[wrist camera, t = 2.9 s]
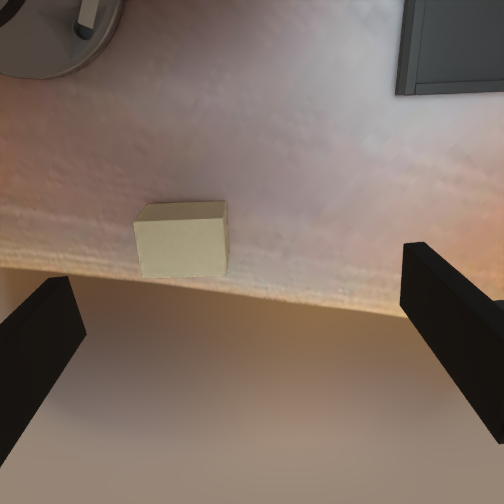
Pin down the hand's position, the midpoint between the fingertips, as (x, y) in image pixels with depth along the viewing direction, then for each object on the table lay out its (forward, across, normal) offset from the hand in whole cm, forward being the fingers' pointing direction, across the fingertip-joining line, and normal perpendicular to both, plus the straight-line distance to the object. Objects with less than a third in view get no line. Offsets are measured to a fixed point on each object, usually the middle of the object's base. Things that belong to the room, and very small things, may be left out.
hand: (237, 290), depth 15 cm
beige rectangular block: (+20, -5, -4) cm, 21 cm away
